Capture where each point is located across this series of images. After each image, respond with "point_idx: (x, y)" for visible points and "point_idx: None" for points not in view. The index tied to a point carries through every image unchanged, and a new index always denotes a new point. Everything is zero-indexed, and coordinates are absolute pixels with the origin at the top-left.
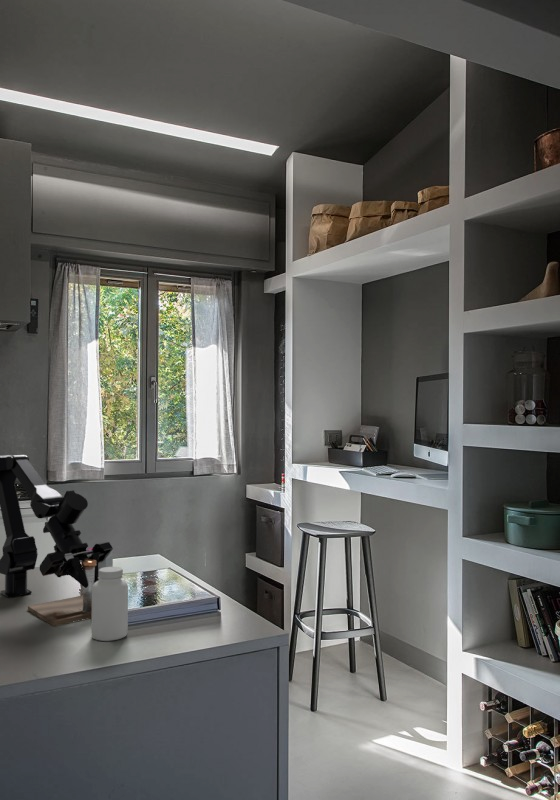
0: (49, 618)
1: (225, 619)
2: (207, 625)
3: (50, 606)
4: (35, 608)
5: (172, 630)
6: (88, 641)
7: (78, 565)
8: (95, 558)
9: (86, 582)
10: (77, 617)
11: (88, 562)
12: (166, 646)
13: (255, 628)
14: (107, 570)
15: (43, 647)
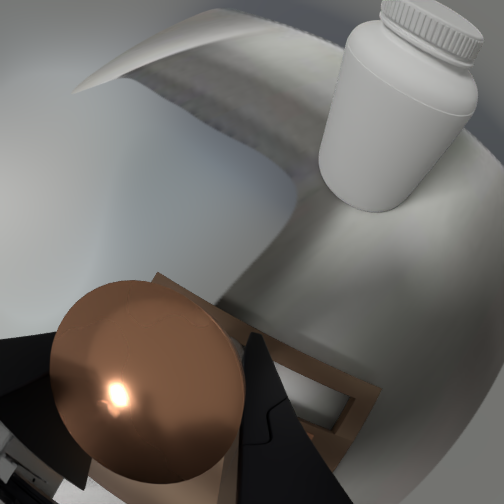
0: (354, 431)
1: (165, 53)
2: (206, 55)
3: None
4: None
5: (258, 80)
6: (417, 199)
7: (290, 451)
8: (16, 361)
9: (259, 343)
10: (301, 352)
11: (189, 358)
12: None
13: (201, 23)
14: (457, 16)
15: (484, 276)
